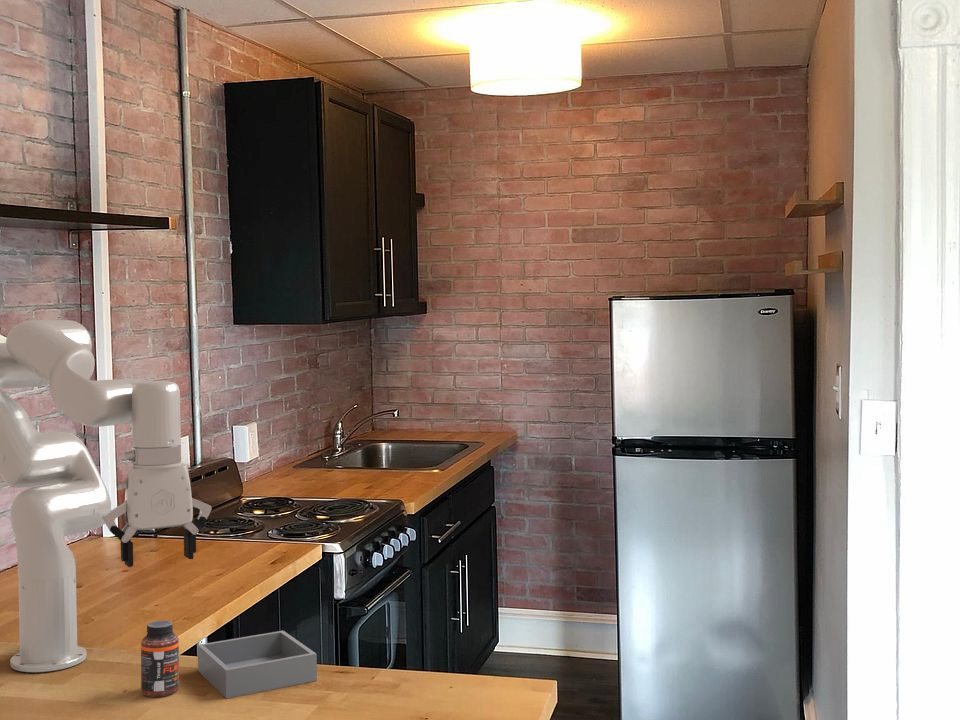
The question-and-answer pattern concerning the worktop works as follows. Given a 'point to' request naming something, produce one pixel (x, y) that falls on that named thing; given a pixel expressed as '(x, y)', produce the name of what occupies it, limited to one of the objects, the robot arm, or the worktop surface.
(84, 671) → the worktop surface
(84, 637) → the worktop surface
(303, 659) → the bin
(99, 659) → the worktop surface
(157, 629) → the supplement bottle
